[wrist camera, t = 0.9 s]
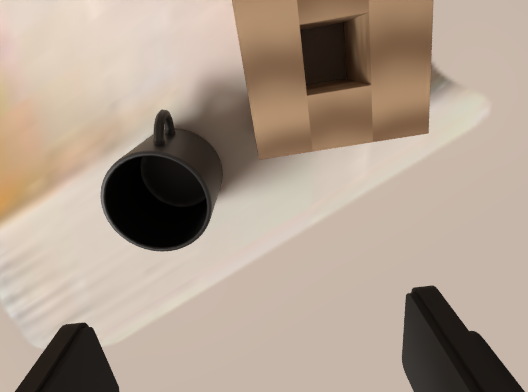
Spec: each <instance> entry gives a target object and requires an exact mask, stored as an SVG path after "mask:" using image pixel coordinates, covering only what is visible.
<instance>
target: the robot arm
mask: <svg viewBox="0 0 528 392" xmlns="http://www.w3.org/2000/svg"><path fill="white" fill-rule="evenodd" d="M402 363H403V368H404V371H405V373H406V376H407V378H408V380H409V382H410V384H411V386H412V389H413V391H414V392H525V391H524V390H523V389H522V388H521V386H520V385H519V384H518V382H517V381H516V380H515V379H514V377H513V376H512V375H511V373H510V372H509V371H508V370H507V368H506V367H505V366H504V365H503V363H502V362H501V361H500V359H499V358H498V357H497V355H496V354H495V353H494V352H493V350H492V349H491V348H490V346H489V345H488V344H487V343H486V341H485V340H484V339H483V338H482V337H481V336H480V334H478V333H477V332H475V331H468V329H467V328H466V327H465V325H464V324H463V322H462V321H461V320H460V319H459V317H458V316H457V314H456V313H455V312H454V310H453V309H452V308H451V306H450V305H449V304H448V302H447V301H446V300H445V299H444V297H443V296H442V294H441V293H440V292H439V290H438V289H437V288H436V287H435V286H425V287H416V288H413V289H412V292H411V293H408V294H407V295H406V303H405V318H404V334H403V350H402ZM15 392H119V386H118V384H117V382H116V379H115V377H114V375H113V372H112V370H111V368H110V366H109V363H108V361H107V359H106V357H105V354H104V352H103V350H102V347H101V345H100V343H99V340H98V338H97V336H96V334H95V331H94V329H93V328H92V327H89V326H88V325H87V324H86V323H75V324H66V325H63V326H62V327H61V328H60V329H59V331H58V332H57V333H56V335H55V336H54V338H53V339H52V340H51V342H50V343H49V345H48V346H47V347H46V349H45V350H44V352H43V353H42V354H41V356H40V357H39V359H38V360H37V362H36V363H35V364H34V366H33V367H32V368H31V370H30V371H29V373H28V374H27V375H26V377H25V379H24V380H23V381H22V382H21V384H20V385H19V387H18V388H17V390H16V391H15Z"/></svg>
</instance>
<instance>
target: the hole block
mask: <svg viewBox="0 0 528 392" xmlns="http://www.w3.org/2000/svg"><path fill="white" fill-rule="evenodd" d="M232 3H233V9H234V15H235V21H236V27H237V32H238V38H239V44H240V50H241V56H242V62H243V68H244V74H245V79H246V85H247V91H248V97H249V103H250V109H251V115H252V120H253V126H254V132H255V138H256V144H257V150H258V156H259V160H260V159H267V158H273V157H280V156H286V155H292V154H299V153H305V152H312V151H318V150H325V149H331V148H338V147H344V146H350V145H357V144H363V143H370V142H376V141H383V140H389V139H395V138H402V137H408V136H415V135H421V134H428V133H429V106H430V78H431V50H432V23H433V22H432V21H433V0H232ZM338 23H343V24H344V41H345V59H346V76H347V78H346V79H340V80H334V81H328V82H322V83H316V84H310V85H306V83H305V73H304V64H303V54H302V44H301V35H300V30H303V29H309V28H315V27H320V26H326V25H332V24H338Z"/></svg>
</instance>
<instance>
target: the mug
mask: <svg viewBox="0 0 528 392" xmlns="http://www.w3.org/2000/svg"><path fill="white" fill-rule="evenodd" d="M164 124H165V130H164ZM221 182H222V166H221V162H220V159H219V157H218V155H217V153H216V152H215V150H214V149H213V147H212V146H211V145H210V144H209V143H208V142H207V141H206V140H205V139H203V138H202V137H200V136H199V135H197V134H194V133H192V132H190V131H186V130H181V129H174V125H173V120H172V117H171V115H170V113H169V111H167V110H161V111H160V112H159V113H158V114H157V116H156V119H155V123H154V135H152V136H150V137H149V138H148V139H146V140H145V141H144V142H142V143H141V144H139V145H138V146H137V147H135V148H134V149H133V150H131V151H130V152H129V153H127V154H126V155H125V156H123V157H122V158H121V159H119V160H118V161H117V162H116V163H115V164H113V165H112V167H111V168H110V169H109V170H108V172H107V173H106V175H105V177H104V180H103V183H102V187H101V204H102V208H103V211H104V214H105V216H106V218H107V220H108V222H109V223H110V225H111V226H112V227H113V228H114V230H115V231H116V232H117V233H118V234H119V235H120V236H122V237H123V238H124V239H126V240H127V241H129V242H130V243H132V244H134V245H136V246H138V247H141V248H144V249H148V250H153V251H172V250H177V249H180V248H183V247H185V246H187V245H189V244H191V243H193V242H194V241H195V240H197V239H198V238H199V237H200V236H201V235H202V234H203V232H204V231H205V229H206V228H207V226H208V224H209V221H210V219H211V215H212V212H213V209H214V205H215V202H216V199H217V196H218V192H219V189H220V186H221Z"/></svg>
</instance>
